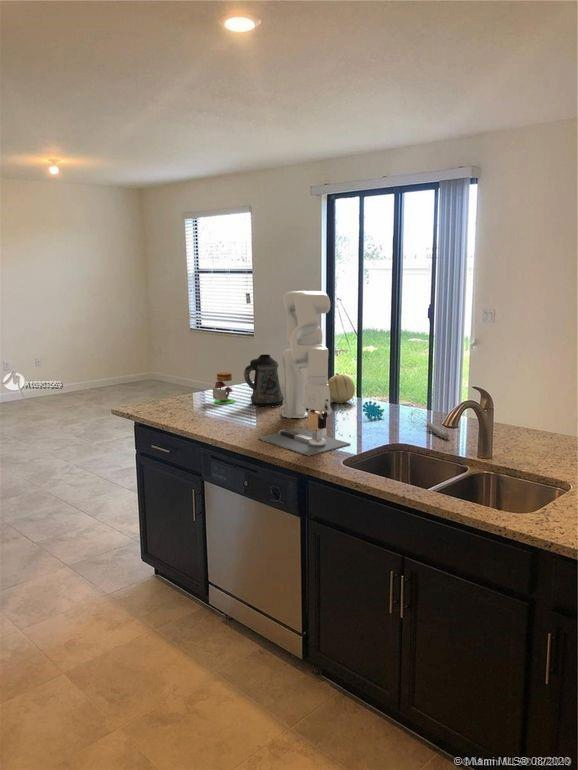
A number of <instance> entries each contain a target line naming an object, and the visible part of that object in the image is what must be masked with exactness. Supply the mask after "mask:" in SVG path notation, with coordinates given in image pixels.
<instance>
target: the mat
mask: <svg viewBox="0 0 578 770" xmlns="http://www.w3.org/2000/svg"><path fill="white" fill-rule="evenodd" d="M290 431H293V432H297V433H299V434H301V435H304V436H307V437H311V438H313V431H309V430H306V429H302V428H295V429H290ZM322 438H323V439H325V440H326V446H324V447H311V446H309V444H308V443H304V442H301V441H298V440H295V439H291V438H288V437H285V436H282V435H279V432H276V433H273V434H268V435H263V436H259V437H257V440H258V439H261V440H264V441H268V442H270V443H273V444H276V445H279V446H282V447H285V448H288V449H291V450H294V451H296V452H295V453H297V452H299V453H302V454H305V455H308V456H309V455H313V454H316V455H318V454H317V453H320V454H322V453H321V452H324V453H326V451H327V452H330V450H331V451H334V450H337V449H341V448H345V447H347V446H351V442H347V441H343V440H341V439H337V438H333V437H330V436H327V435H324V434H322ZM261 440H260V441H261ZM264 441H263V442H264ZM270 443H269V444H270ZM273 444H272V445H273ZM276 445H275V446H276ZM279 446H278V447H279ZM282 447H281V448H282ZM285 448H284V449H285ZM288 449H287V450H288ZM291 450H290V451H291ZM294 451H293V452H294ZM299 453H298V454H299ZM302 454H301V455H302ZM305 455H304V456H305ZM308 456H307V457H308ZM313 456H314V455H313ZM309 457H310V456H309Z"/></svg>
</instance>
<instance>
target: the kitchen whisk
mask: <svg viewBox="0 0 578 770" xmlns="http://www.w3.org/2000/svg"><path fill="white" fill-rule="evenodd" d="M416 410H418V411H416ZM415 413H416V414H417V415H419V417H420V419H422V420H423V421H422V423H424V424H422V423H420V427H422V428H424V427H425V428H427V429H428V430H430V431H431V432H432V433H434V434H435V435H437V436H438V437H440V438H441V439H443V438H444V439H443V440H445V439H447V440H449V439H450V436H449V434H448V433H447V432H446V431H444V430H443V429H441V428H440V427H438V426H436V425H435V424H434V423H432V422H430V419H429V418H428V417H427V416H426V415H424V412H423V411H421V410H420V411H419V409H415V410H414V409H413V410H411V412H410V413H409V415H408V418H407V419H408V420H410V421H411V422H413V420H412V419H411V418H409V417H413V418H414V420H416V419H417V420H418V421H420V419H419V418H417V417H415V415H414V414H415ZM419 413H421V414H423V415H424V417H425V418H426V419H425V418H424V417H423V416H422V415H421V414H419ZM424 421H425V422H424ZM416 422H417V421H416ZM416 422H415V421H414V423H415V424H417V425H419V422H417V423H416ZM423 425H424V426H423Z"/></svg>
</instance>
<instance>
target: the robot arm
mask: <svg viewBox="0 0 578 770" xmlns="http://www.w3.org/2000/svg"><path fill="white" fill-rule="evenodd" d="M282 298H283V299H282V302H283V306H284V309H285V312H286V315H287V316H286V317H287V318H286V319H287V325H286V341H287V344H288V345H289V347H290V348H286V349H285V350H284V351H283V353H282V362H283V368H284V404H282V406H280V409H283V412H281V417H283V418H285V417H287V418H286V419H291V418H299V419H306V418H308V413H309V412H313V411H319V413H320V419H319V429H321V430H324V429H323V428H325V429H327V428H326V418H327V419H328V417H329V416H330V414H331V413H333V409H332V406H331V399H330V391H329V385H328V380H329V348H327V346H326V345H325V344H323V331H322V328H321V326H320V319H319V315H318V314H328V313H329V311H330V310H331V300H330V297H329V294H327V293H326V292H324V291H321V290H308V291H307V290H293V291H287V292H285V293H284V295H283V297H282ZM303 369H307V377H305V374H304V373H303V372H302V371H301V370H303ZM306 378H307V379H306ZM306 380H307V381H306ZM323 412H324V414H323ZM305 417H306V418H305Z"/></svg>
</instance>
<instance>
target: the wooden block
mask: <svg viewBox="0 0 578 770" xmlns="http://www.w3.org/2000/svg"><path fill="white" fill-rule="evenodd" d="M323 414H324V412H323ZM319 419H320V413H319V411H313V412H309V413H308V417H307V428H308V429H311V430H325V429H327V426H328V425H327V423H328V417H327V418H326V428H323V429H319Z"/></svg>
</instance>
